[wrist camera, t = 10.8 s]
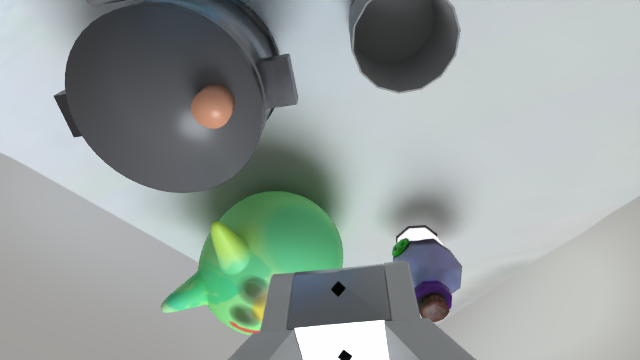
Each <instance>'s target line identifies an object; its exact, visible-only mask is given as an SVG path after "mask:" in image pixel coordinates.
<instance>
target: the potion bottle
mask: <svg viewBox="0 0 640 360" xmlns="http://www.w3.org/2000/svg"><path fill="white" fill-rule="evenodd" d="M392 255H393V262H397V261H407V262H408V263H409V268H410V272H411V277H412V281H413V286H414V291H415V295H416V300H417V304H418V309H419V313H420V314H421V316H422V318H429V319H430V320H431V321H432V322H437V321H440V320H442V319H444V318H445V317H446V316H447V315H448V313H449V309H450V308H451V303H452V295H451V294H452V293H454V292H455V291H456V290H458V289H459V288H460V285H461V273H462V265H461V264H460V263H459V262H458V260H457V259H456V258H455V256H454V255H453V254H452V253H451V251H450V250H449V249H447V248H446V247H444V246H443V244H442V243H441V242H440V240H439V239H438V238H437V234H436V233H435V232H434V231H432V230H431V229H430V228H428V227H427V226H426V225H422V226H408V227H407V228H406V229H405V230H403V231H402V232H401V233H400V234H399V235H398V236H397V237H396V245H395V246H394V247H393V251H392Z"/></svg>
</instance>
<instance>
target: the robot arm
mask: <svg viewBox="0 0 640 360" xmlns="http://www.w3.org/2000/svg"><path fill="white" fill-rule="evenodd" d="M228 360H476V359H475V358H473V357H472V356H471V355H470V354H469V353H468V352H467V351H465V350H464V349H463V348H462V347H461V346H460V345H459V344H457V343H456V342H455V341H454V340H453V339H452V338H451V337H449V336H448V335H447V334H446V333H445V332H443V330H441V329H440V328H439V327H438V326H437V325H436V324H435V323H433V322H432V321H431V320H430V319H429V318H420V313H419V309H418V304H417V300H416V295H415V291H414V286H413V281H412V277H411V272H410V268H409V263H408V262H407V261H397V262H389V263H384V265H383V264H376V265H367V266H358V267H349V268H340V269H327V270H315V271H303V272H295V273H283V274H273V276H272V278H271V279H270V284H269V289H268V294H267V299H266V304H265V309H264V314H263V319H262V323H261V328H260V332H259V333H253V334H252V335H251V336H250V337H249V338H248V339H247V340H246V341H245V342H244V343H243V344H242V345H241V346H240V348H239V349H238V350H237V351H236V352H235V353H234V354H233V355H232V356H231V357H230V358H229V359H228Z"/></svg>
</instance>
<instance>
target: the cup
mask: <svg viewBox="0 0 640 360" xmlns="http://www.w3.org/2000/svg"><path fill="white" fill-rule="evenodd" d="M460 31H461V30H460V27H459V23H458V19H457V16H456V12H455V8H454V6H453V5H452V4H451V3H450V2H449V1H448V0H354V2H353V4H352V6H351V7H350V20H349V32H350V41H351V49H352V53H353V56H354V58H355V61H356V63H357V66H358V68H359V71H360V73H361V74H362V75H363V76H364V77H366V78H367V79H368V80H369V81H370V82H371V83H372V84H373V85H375V86H376V87H377V88H380V89H384V90H387V91H391V92H395V93H404V92H410V91H416V90H422V89H423V88H425V87H426V86H428V85H429V84H431V83H432V82H434V81H435V80H437V79H438V78H440V77H441V76H442V75H443V74H444V72H445V71H446V69H447V68H448V66H449V65H450V63H451V62H452V60H453V59H454V58H455V56H456V52H457V47H458V42H459V36H460Z"/></svg>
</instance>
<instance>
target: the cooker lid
mask: <svg viewBox="0 0 640 360" xmlns="http://www.w3.org/2000/svg"><path fill="white" fill-rule="evenodd" d="M86 1H87V2H88V3H89V4H90V5H91V6H97V5H102V4H108V3H113V2H118V1H124V0H86ZM65 90H66V97H67V102H68V105H69V109H70V112H71V115H72V117H73V120H74V122H75V124H76V126H77V128H78V130H79V131H80V133H81V135H82V136H83V138H84V139H85V141H86V142H87V143H88V145H89V146H90V147H91V148H92V150H93V151H94V152H95V153H96V154H97V155H98V156H99V157H100V158H101V159H102V160H103V161H104V162H105V163H106V164H108V165H109V166H110V167H112V168H113V169H114V170H116V171H117V172H119V173H120V174H122V175H123V176H125V177H127V178H128V179H130V180H132V181H135V182H137V183H139V184H141V185H144V186H147V187H149V188H153V189H157V190H161V191H167V192H177V193H188V192H198V191H203V190H207V189H210V188H213V187H216V186H218V185H220V184H222V183H224V182H226V181H227V180H229V179H231V178H232V177H234V176H235V175H236V174H237V173H238V172H239V171H240V170H241V169H242V168H243V167H244V166H245V165H246V163H247V162H248V161H249V159H250V157H251V156H252V154H253V152H254V150H255V148H256V145H257V143H258V140H259V138H260V135H261V131H262V127H263V122H264V98H263V92H262V88H261V85H260V81H259V78H258V76H257V73H256V71H255V69H254V67H253V65H252V63H251V61H250V60H249V58H248V56H247V55H246V53H245V52H244V51H243V49H242V48H241V47H240V46H239V44H238V43H237V42H236V41H235V40H234V39H233V38H232V37H231V36H230V35H229V34H228V33H227V32H226V31H225V30H223V29H222V28H221V27H220V26H218V25H217V24H216V23H214V22H213V21H211V20H209V19H208V18H206V17H204V16H203V15H201V14H198V13H196V12H194V11H192V10H189V9H186V8H183V7H180V6H177V5H171V4H166V3H140V4H134V5H130V6H126V7H123V8H120V9H116V10H113V11H111V12H109V13H107V14H105V15H102V16H101V17H99V18H98V19H96V20H95V21H93V22H92V23H91V24H90V25H89V26H88V27H87V28H85V29H84V30H83V31H82V33H81V34H80V36H79V37H78V38H77V40H76V41H75V43H74V45H73V47H72V49H71V51H70V54H69V57H68V61H67V65H66V72H65Z"/></svg>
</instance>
